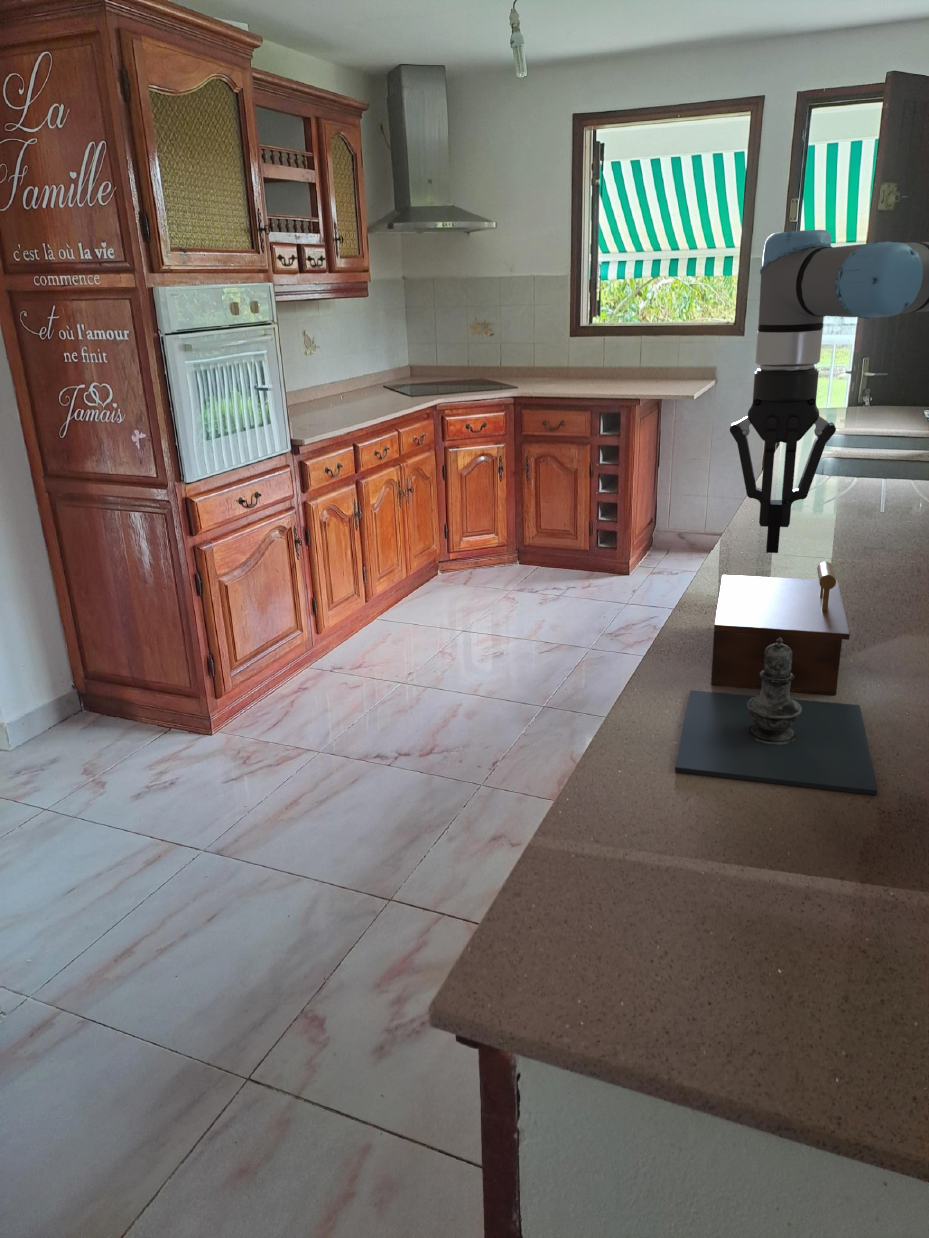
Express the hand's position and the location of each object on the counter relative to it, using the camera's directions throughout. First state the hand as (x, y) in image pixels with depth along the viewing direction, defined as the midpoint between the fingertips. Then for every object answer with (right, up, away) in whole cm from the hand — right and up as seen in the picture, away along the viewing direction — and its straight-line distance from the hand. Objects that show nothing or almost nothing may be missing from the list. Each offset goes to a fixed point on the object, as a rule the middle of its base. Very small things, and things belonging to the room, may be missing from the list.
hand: (772, 549), depth 117 cm
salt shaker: (-6, -23, -16) cm, 28 cm away
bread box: (+2, -15, +5) cm, 16 cm away
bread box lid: (+2, -8, +2) cm, 8 cm away
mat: (-6, -23, -16) cm, 29 cm away
